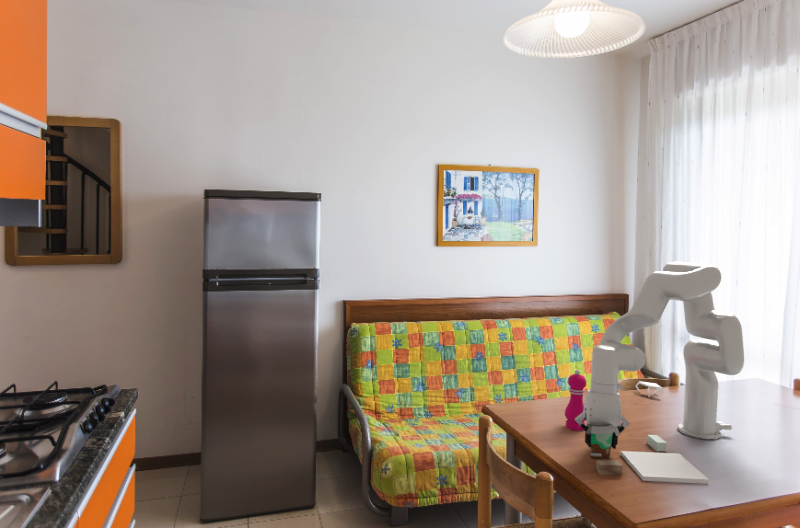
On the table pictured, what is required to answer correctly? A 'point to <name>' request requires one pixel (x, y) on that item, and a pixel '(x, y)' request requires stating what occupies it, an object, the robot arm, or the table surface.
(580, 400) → the pepper mill
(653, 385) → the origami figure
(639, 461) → the platter
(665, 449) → the sage block
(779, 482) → the table surface
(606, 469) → the walnut block
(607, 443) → the food container
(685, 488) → the table surface
